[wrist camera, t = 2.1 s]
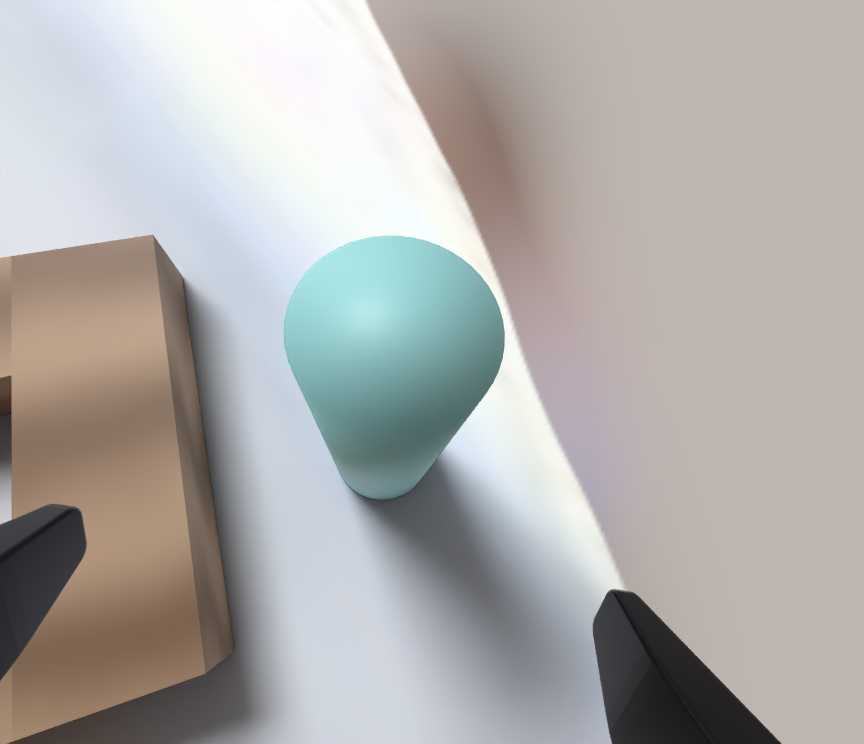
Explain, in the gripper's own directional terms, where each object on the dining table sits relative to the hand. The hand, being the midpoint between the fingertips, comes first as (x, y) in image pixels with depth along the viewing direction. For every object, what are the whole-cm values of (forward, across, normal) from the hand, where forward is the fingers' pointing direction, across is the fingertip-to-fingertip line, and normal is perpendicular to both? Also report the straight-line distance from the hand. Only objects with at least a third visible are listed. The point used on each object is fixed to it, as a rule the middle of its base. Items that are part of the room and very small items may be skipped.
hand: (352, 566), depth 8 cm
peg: (+11, 0, +5) cm, 12 cm away
